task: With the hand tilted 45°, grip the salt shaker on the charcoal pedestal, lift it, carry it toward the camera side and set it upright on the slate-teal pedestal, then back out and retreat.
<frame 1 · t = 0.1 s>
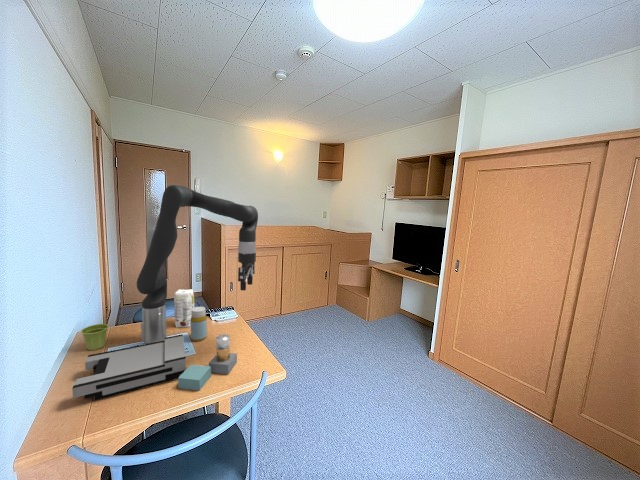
hand: (246, 287, 118), 29 cm above the table, tool pointing down, fingers open, 8 cm apart
stand a: (223, 367, 107), on the table
juice carton: (185, 325, 142), on the table
stand b: (195, 381, 98), on the table
salt shaker: (223, 358, 107), point 4 cm above the table, touching stand a
bottle: (199, 338, 129), on the table
plant pot: (96, 347, 118), on the table
office tray: (137, 375, 101), on the table
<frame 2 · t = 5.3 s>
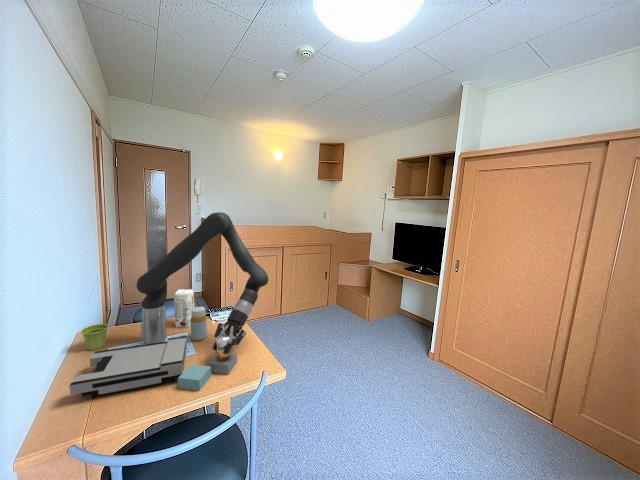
hand: (219, 351, 105), 8 cm above the table, tool tilted 45°, fingers closed on salt shaker, 5 cm apart
salt shaker: (223, 358, 107), point 4 cm above the table, touching gripper, stand a
when the fingers open (9 cm above the table, at t = 11.4 s): salt shaker drops 1 cm, resting on stand b.
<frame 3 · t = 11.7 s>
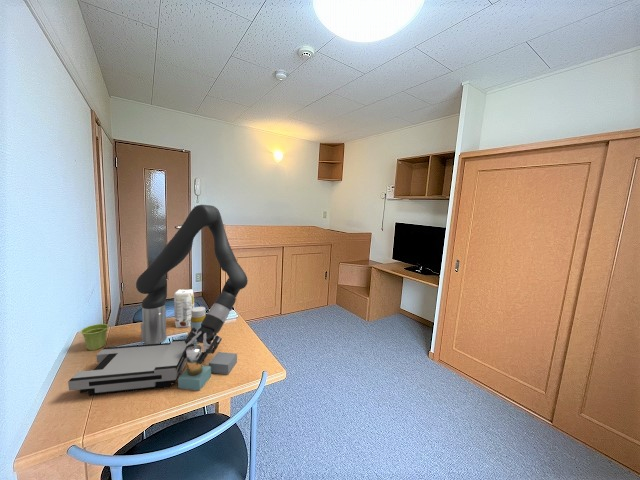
hand: (191, 360, 95), 9 cm above the table, tool tilted 45°, fingers open, 7 cm apart
salt shaker: (195, 371, 98), point 4 cm above the table, touching stand b
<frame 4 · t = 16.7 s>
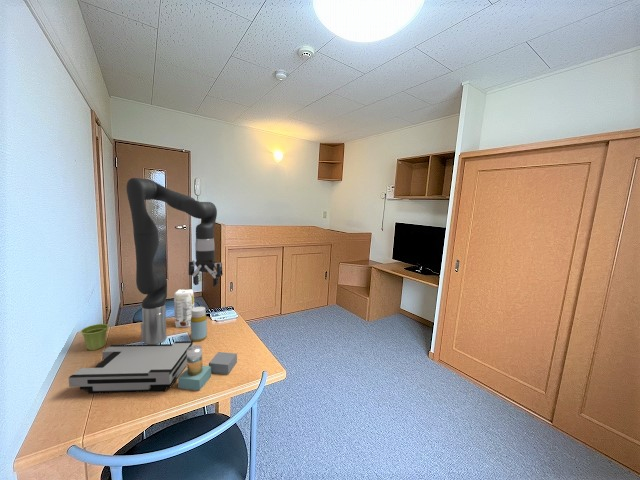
hand: (205, 285, 115), 30 cm above the table, tool pointing down, fingers open, 8 cm apart
at the end: salt shaker 0.2 cm off-centre on the stand b, point 4.0 cm above the stand b's base; salt shaker tilted 1°; the gripper is holding nothing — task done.
